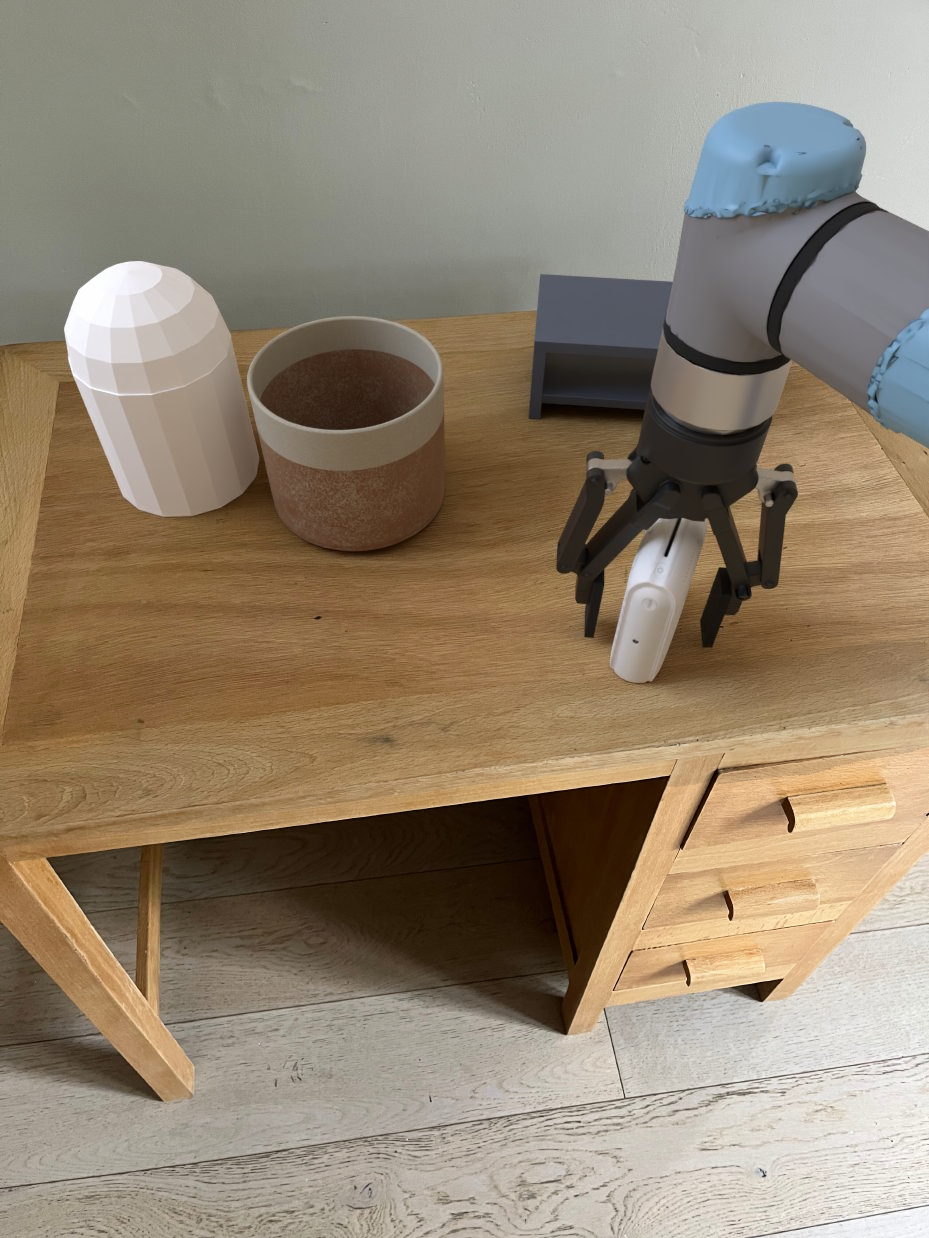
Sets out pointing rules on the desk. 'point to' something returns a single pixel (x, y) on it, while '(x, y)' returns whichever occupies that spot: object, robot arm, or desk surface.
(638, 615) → the photo printer
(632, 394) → the shelf
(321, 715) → the desk surface
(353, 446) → the planter
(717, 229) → the robot arm
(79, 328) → the container
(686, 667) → the desk surface
